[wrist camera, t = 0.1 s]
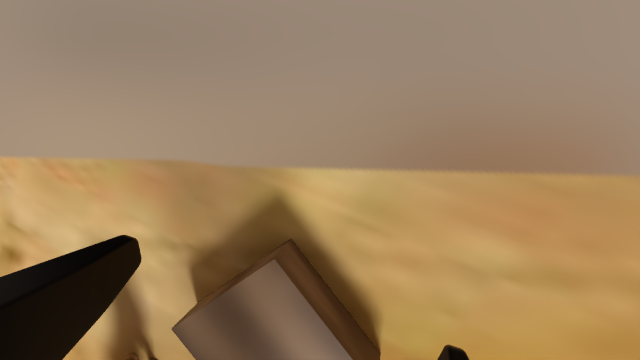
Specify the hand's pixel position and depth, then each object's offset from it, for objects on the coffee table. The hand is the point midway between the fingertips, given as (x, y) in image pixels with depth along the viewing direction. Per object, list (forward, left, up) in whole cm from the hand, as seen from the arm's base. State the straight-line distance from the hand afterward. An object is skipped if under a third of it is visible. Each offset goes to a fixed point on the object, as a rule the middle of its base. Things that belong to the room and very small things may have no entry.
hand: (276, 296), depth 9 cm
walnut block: (-13, -7, -16) cm, 22 cm away
